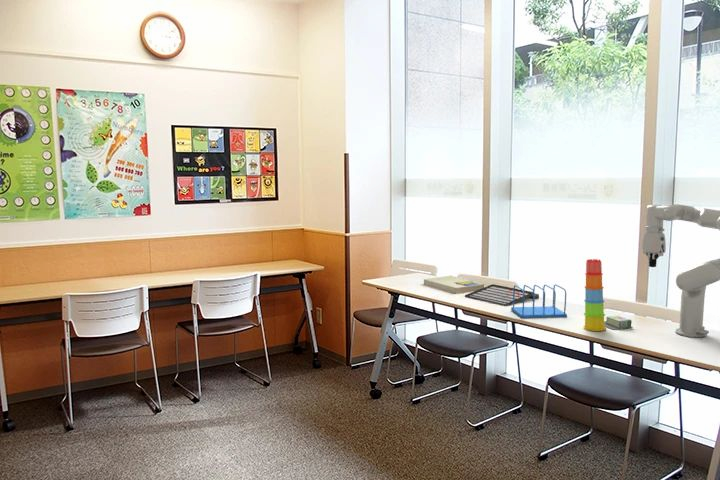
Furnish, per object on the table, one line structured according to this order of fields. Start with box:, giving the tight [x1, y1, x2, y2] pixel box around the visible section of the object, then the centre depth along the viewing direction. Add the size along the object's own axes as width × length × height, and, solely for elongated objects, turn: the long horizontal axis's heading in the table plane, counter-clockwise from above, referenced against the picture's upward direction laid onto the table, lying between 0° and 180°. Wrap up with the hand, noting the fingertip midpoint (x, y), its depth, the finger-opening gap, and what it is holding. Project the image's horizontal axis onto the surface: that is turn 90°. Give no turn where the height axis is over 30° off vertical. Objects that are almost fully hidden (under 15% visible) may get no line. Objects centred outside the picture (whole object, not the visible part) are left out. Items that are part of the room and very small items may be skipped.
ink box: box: [604, 315, 632, 330], centre depth 290 cm, size 7×4×13 cm
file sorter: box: [510, 284, 568, 319], centre depth 314 cm, size 25×17×15 cm
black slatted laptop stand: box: [464, 283, 540, 307], centre depth 355 cm, size 32×7×31 cm
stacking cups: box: [582, 258, 607, 332], centre depth 282 cm, size 10×10×35 cm
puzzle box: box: [423, 275, 485, 295], centre depth 388 cm, size 36×5×24 cm
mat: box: [604, 323, 633, 331], centre depth 290 cm, size 13×12×1 cm
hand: (652, 266), depth 284 cm, fingers closed
